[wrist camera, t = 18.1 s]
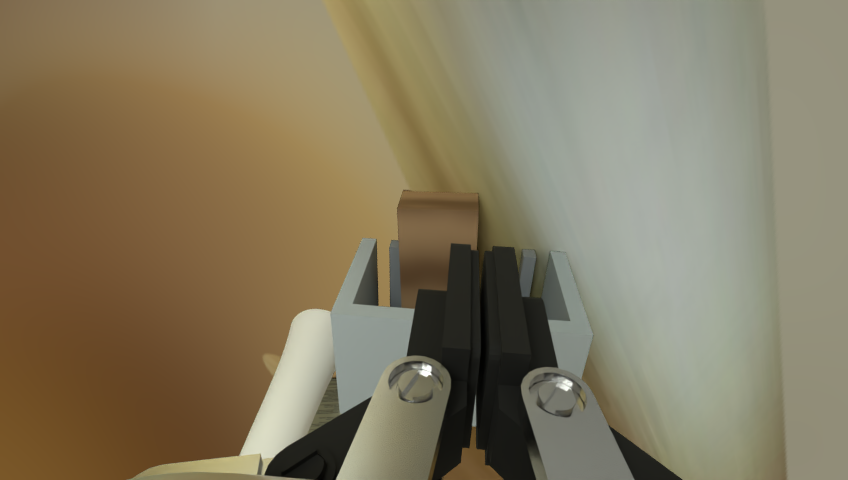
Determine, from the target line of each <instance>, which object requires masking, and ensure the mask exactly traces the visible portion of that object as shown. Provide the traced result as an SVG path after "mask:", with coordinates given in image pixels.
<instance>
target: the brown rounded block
mask: <svg viewBox="0 0 848 480" xmlns="http://www.w3.org/2000/svg"><path fill="white" fill-rule="evenodd" d="M478 216H479V202H478V193H449V192H412V191H410V190H403V192H402V195H401V198H400V201H399V204H398V207H397V217H398V239H399V261H400V284H401V306H402V308H410V309H415V305H416V299H417V293H418V289H430V290H443V291H447V283H448V271H449V259H450V247H451V243H456V244H470V245H471V250H477V235H478Z"/></svg>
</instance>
